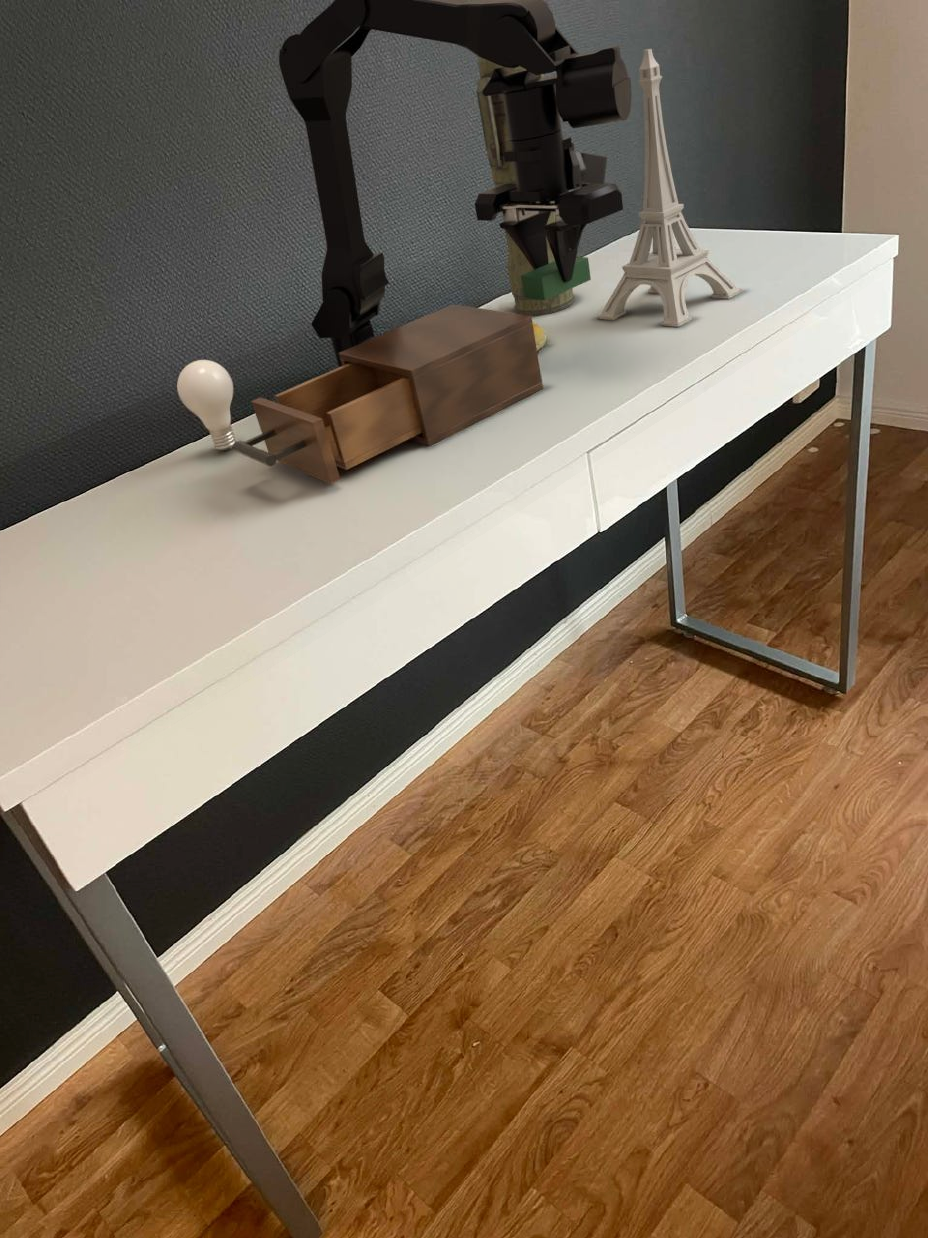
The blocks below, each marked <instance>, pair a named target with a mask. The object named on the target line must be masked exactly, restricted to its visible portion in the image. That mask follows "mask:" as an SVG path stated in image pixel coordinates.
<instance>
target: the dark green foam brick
mask: <svg viewBox="0 0 928 1238" xmlns="http://www.w3.org/2000/svg"><path fill="white" fill-rule="evenodd" d="M521 280H522V287H523V293H524V298H530V299H538V300H547V299H549V298H551V297H554V296H556V295H558V294H560V293H563V292H565V291H567V290H569V289H571V288H573V289H574V288H576V287H579V286H580V285H582V284H585V283H587V282H589V281H591V280H592V277H591V270H590V261H589V257H587V256H586V257H585V256H576V261H575V266H574V271H573V277H572V280H571V281H568V282H563V280H562V278H561V276H560V273H559V271H558V268H557V265H556V263H555V261H554V262H551V263H549V264H547V265H544V266H542V267H540V268H537V269H535V270H533V271H530V272H528V273H526V274H523V275H521Z"/></svg>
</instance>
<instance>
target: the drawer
mask: <svg viewBox="0 0 928 1238" xmlns="http://www.w3.org/2000/svg"><path fill="white" fill-rule="evenodd" d="M274 399H275V401H273V400H270V399H266V398H264V397H258V398H256V399H253V400H251V401H250V402H251V405H252V407H253V410H254V414H255V416H256V420H257V423H258V425H259V429H260V432H261V434H258V435H256V436H253V437H252V438H250V439H247V440H245V441H241V440H236V441H237V442H235V444H234V446H233V450H234V451H235V452H237V453H239V454H240V455H243V456H245V457H248V458H250V459H252V460H253V461H256V462H258V463H261V464H264V465H265V466H268V467H274V466H276V464H277V462H280V463H281V464H284V465H287V466H289V467H290V468H294V469H296V470H298V471H301V472H302V473H305V474H307V475H309V476H313V477H314V478H317V479H319V480H321V481H324V482H326V483H328V484H330V485H331V484H335V483H336V482H338V481H340V480H341V476H340V474H339V473H340V472H339V470H338V468H340V469H343V470H346V471H347V470H349V469H351V468H353V467H355V466H358V465H360V464H361V463H363V462H365V461H367V460H370V459H372V458H374V457H376V456H378V455H379V454H381V453H384V452H386V451H388V450H391V449H392V448H394V447H396V446H398V445H400V444H402V443H404V442H406V441H409V439H410V438H412V437H414V436H416V435H418V434H420V433H422V429H421V425H420V421H419V417H418V412H417V408H416V404H415V400H414V396H413V391H412V387H411V383H410V379H409V377H408V376H404V375H400V374H396V373H392V372H388V371H384V370H380V369H376V368H372V367H368V366H364V365H360V364H356V363H352V362H350V363H348V364H346V365H343V366H341V367H339V366H338V367H336V368H334V369H332V370H330V371H327V372H325V373H323V374H321V375H318V376H316V377H314V378H312V379H309V380H306V381H305V382H303V383H299V384H298V385H295V386H293V387H291V388H288V389H285V390H283V391H281V392H279V393H277V394H275V395H274ZM261 442H264V444H265V446H266V449H267V451H264V450H262V449H260V448H258V447H255V445H258V444H259V443H261Z"/></svg>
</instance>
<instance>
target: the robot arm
mask: <svg viewBox="0 0 928 1238" xmlns="http://www.w3.org/2000/svg"><path fill="white" fill-rule="evenodd" d="M373 31H378V32H385V33H390V34H396V35H400V36H406V37H407V36H408V37H414V38H417V39H418V38H419V39H425V40H431V41H436V42H440V43H441V42H442V43H447V44H453V45H457V46H459V47H462V48H464V49H466V50H468V51H469V52H471V53H472V54H473V55H475V56H476V57H477V58H478V57H480V58H483V59H485V60H488V61H490V62H493V63H495V64H498V65H500V66H501V67H498V68H496V69H494V70H493V74H492V76H491V78H490V80H489V82H488V83H487V85H486V86H485V88H484V89H483V90H482V94H483V95H484V96H491V95H497V94H502V96H503V102H504V109H505V115H506V121H507V128H508V134H509V139H510V147H511V149H510V150H507V151H505V152H503V154H504V160H505V162H513V166H514V172H515V178H516V184H504V185H501V186H498V187H496V186H495V187H493V188H491V189H488V190H485V191H482V192H479V193H478V195H477V198H476V199H475V201H474V208H475V209H474V210H475V214H476V220H477V221H485V222H492V221H495V220H496V219H497V217H498V214H499V213H502V212H503V214H502V219H503V218H504V220H503V221H502V222H500V223H499V229H501V230H504V232H505V231H506V232H507V233H508V234H509V236H510V237H511V238H512V240H513V241H514V242H515V243H516V245H517V246H518V247H519V249H520V250H521V252H522V253H523V254H524V256H525V257H526V259H527V260H528V262H529V263H530V265H531V266H532V268H533V269H534V270H535V269H537V268H540V267H542V266H544V265H547V264H549V261H548V251H547V241H546V237H547V240H548V243H549V245H550V248H551V251H552V254H553V257H554V260H555V263H556V265H557V268H558V271H559V273H560V276H561V278H562V280H563V282H568V281H571V280H572V277H573V271H574V266H575V261H576V257H578V256H577V255H578V251H579V246H580V241H581V237H582V235H583V232H584V230H585V228H586V227H587V225H589V224H593V223H594V222H597V221H599V220H601V219H604V218H606V217H609V216H611V215H613V214H616V213H618V212H620V211H623V210H624V203H623V194H622V189H621V188H620V187H619V186H618V185H617V184H616V183H615V182H612V183H611V182H606V180H605V179H606V172H607V164H608V163H607V162H608V157H607V156H603V155H599V154H593V153H587V152H578V151H576V150H575V143H574V141H573V140H572V137H569V136H568V137H563V129H562V123H567V122H568V125H569V126H570V127H571V128H572V129H580V128H585V127H591V126H592V127H593V126H598V125H605V124H611V123H617V122H624V121H627V120H628V118H629V116H630V113H631V109H632V96H633V95H632V81H631V77H629V74H628V70H627V66H626V64H625V62H624V60H623V58H622V56H621V47H620V46H619V45H617V44H616V45H611V46H607V47H604V48H603V49H600V50H598V51H593V52H592V51H591V52H587V53H582V54H580V53H579V52H578V51H577V49H576V48H575V47H574V46H573V45H572V44H571V43H570V41H569V40H568V39H567V38H566V36H565V35H564V34H563V33H562V32H561V31H560V29H559V28H558V27H557V26H556V21H555V17H554V13H553V12H552V10H551V9H550V7H549V5H548V3H547V2H546V1H545V0H333V2H332V3H331V4H330V5H328V6H327V7H326V8H325V9H324V10H323V11H322V12H321V13H319V15H317V16H316V17H315V18H313V20H312V21H310V22H309V23H308V24H307V25H306V26H305V27H304V28H303V29H302V31H300V32H299V33H296V34H293V35H290V36H288V37H287V38H286V39H285V40H284V41H283V43H282V45H281V48H279V51H278V55H277V56H278V66H279V71H280V74H281V77H282V80H283V83H284V87H285V90H286V93H287V96H288V99H289V100H290V102H291V103H292V105H293V106H294V108H295V110H296V111H297V112H298V114H299V116H300V117H301V118H302V120H303V123H304V127H305V131H306V136H307V141H308V142H307V143H308V147H309V154H310V159H311V163H312V164H311V165H312V171H313V176H314V183H315V188H316V194H317V199H318V203H319V204H318V205H319V211H320V215H321V222H322V227H323V228H322V229H323V233H324V239H325V245H326V249H325V250H326V251H325V254H324V260H323V264H322V268H321V273H320V280H321V300H322V303H321V305H320V307H319V309H318V310H317V313H316V314H315V316H314V318H313V320H312V322H311V327H312V328H313V330H314V332H315V334H316V335H317V337H318V338H319V339H330V341H331V345H332V348H333V352H334V355H335V360H336V363H337V366H338V368H339V367H341V366H342V364H341V360H340V357H339V353H340V352H342V351H345V350H347V349H349V348H352V347H354V346H356V345H359V344H361V343H363V342H366V341H368V340H370V339H373V338H375V337H376V334H375V331H374V327H373V324H372V322H371V320H372V319H373V318H374V317H377V316H379V314H380V304H381V301H382V299H383V298H384V297H385V294H386V286H387V285H389V283H390V282H389V280H388V278H387V275H386V271H385V257H384V253H382V252H377V253H374V252H373V251H372V250H371V248H370V246H369V245H368V243H367V242H366V239H365V235H364V227H363V221H362V215H361V207H360V202H359V201H360V200H359V196H358V195H359V194H358V189H357V183H356V175H355V170H354V162H353V156H352V150H351V142H350V136H349V130H348V124H347V123H348V122H347V111H348V106H349V102H350V97H351V92H352V87H353V72H352V71H353V69H352V68H353V66H352V65H353V62H352V59H354V57H355V56H356V55H357V53H359V51H360V50H361V49H362V48H363V47H364V46H365V44H366V42H367V40H368V39H369V37H370V36H371V33H372V32H373ZM519 66H520V67H522V68H524V69H526V70H524V71H519V72H513V73H511V72H509V71H508V70H506V69H505V67H506V68H516V67H519ZM551 73H556V74H554V75H549V76H545V77H540V75H541V74H545V75H546V74H551ZM551 201H552V202H555V203H551ZM536 202H540V203H536ZM551 212H556V215H555V221H556V222H553V223H551V224H548V225H547V222H548V219H549V217H550V214H551ZM506 232H505V233H506Z"/></svg>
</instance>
